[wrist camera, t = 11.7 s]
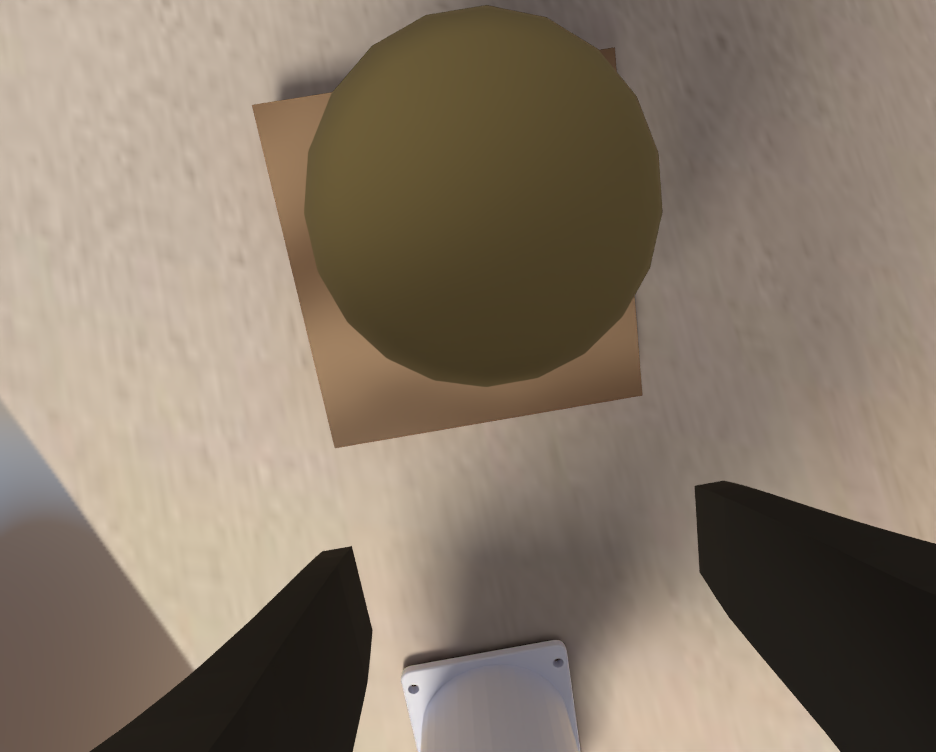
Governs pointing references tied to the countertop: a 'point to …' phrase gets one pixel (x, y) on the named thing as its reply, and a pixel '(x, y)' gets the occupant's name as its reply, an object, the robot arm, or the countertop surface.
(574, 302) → the olive tapered knobbed peg
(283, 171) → the walnut base
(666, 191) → the countertop surface
